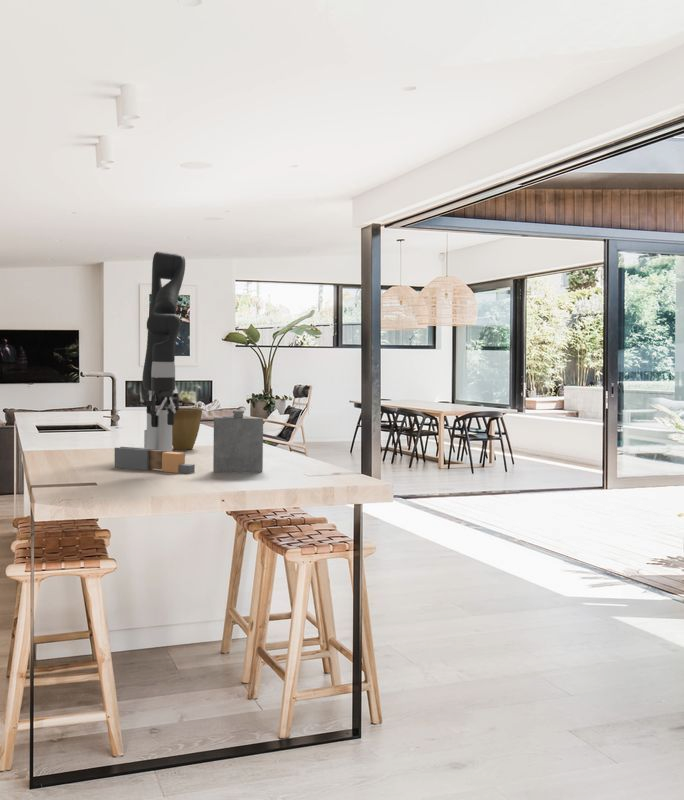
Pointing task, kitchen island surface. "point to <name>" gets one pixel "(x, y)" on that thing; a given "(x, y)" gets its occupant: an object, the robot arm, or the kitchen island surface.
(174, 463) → the orange block
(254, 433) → the hip flask
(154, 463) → the gate
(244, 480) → the kitchen island surface
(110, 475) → the kitchen island surface
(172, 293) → the robot arm
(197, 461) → the kitchen island surface
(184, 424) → the plant pot
